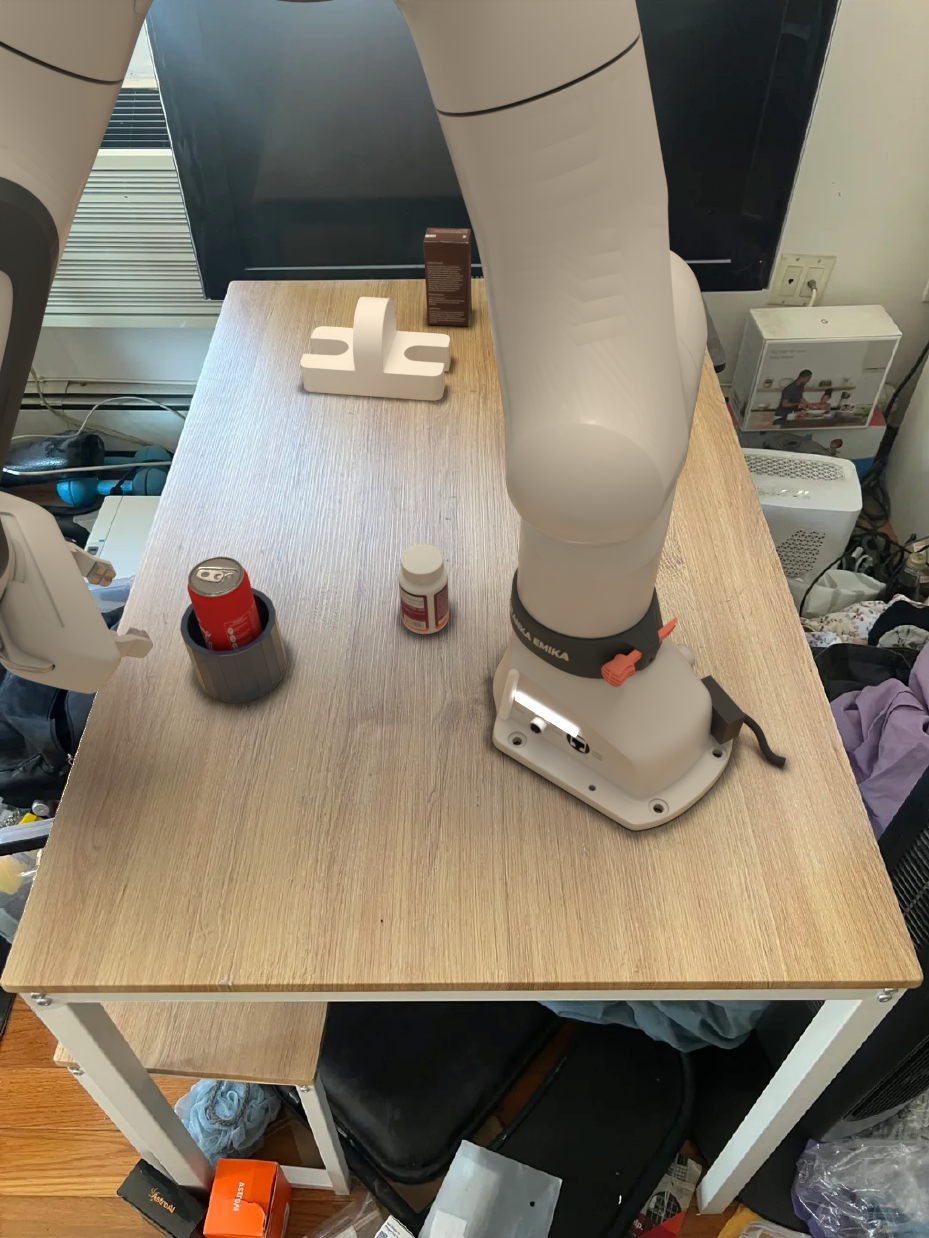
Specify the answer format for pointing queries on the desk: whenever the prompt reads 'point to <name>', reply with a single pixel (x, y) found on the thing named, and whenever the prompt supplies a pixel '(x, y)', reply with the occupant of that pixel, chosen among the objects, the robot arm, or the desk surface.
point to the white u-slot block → (376, 357)
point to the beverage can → (224, 603)
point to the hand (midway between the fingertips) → (128, 609)
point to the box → (448, 276)
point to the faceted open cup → (238, 658)
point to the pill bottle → (423, 589)
